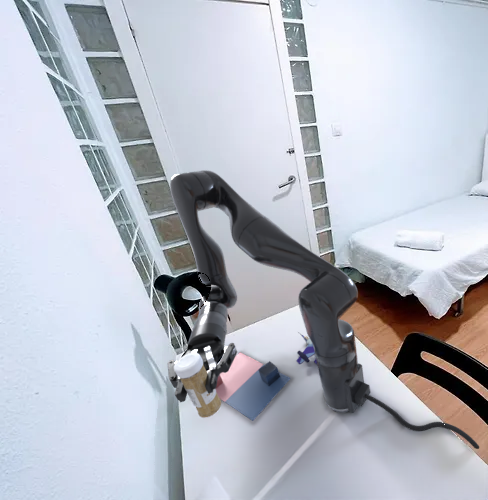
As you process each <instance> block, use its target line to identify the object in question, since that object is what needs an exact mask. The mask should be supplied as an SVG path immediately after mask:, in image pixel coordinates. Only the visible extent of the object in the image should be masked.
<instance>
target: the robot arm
mask: <svg viewBox="0 0 488 500" xmlns="http://www.w3.org/2000/svg"><path fill="white" fill-rule="evenodd" d="M169 188H170V194H171V197H172V201H173V204H174V206H175V208H176V212H177V215H178V217H179V219H180V222H181V225H182V228H183V229H184V232H185V235H186V236H187V239H188V241H189V244H190V247H191V249H192V252H193V256H194V260H195V266H196V270H197V273H198V272H201V274H199V275H198V278H199V277H200V279H201V281H202V282H201V281H200V282H201V283H202V284H203V285H204V284H205V285H210V287H211V291H210V294H209V293H208V294H209V297H208V299H207V300H206V296H203V297H202V298H201V300H200V302H199V307H198V315H197V318H196V321H195V323H194V324H193V327H192V330H191V333H190V336H189V339H188V342H187V347H186V352H185V354H183V356H185V355H187V354H190V353H198V354H199V355H200V356H201V358H202V360H203V365H204V367H205V369H206V370H207V369H209V370H210V371H208V370H207V371H208V374H207V379H206V384H205V387H206V390H207V392H208V394H209V393H212V392H213V389H215V388H216V386H217V380H218V377H219V375H220V374H221V373H222V372H223V373H226V372H228V371H229V369H230V367H231V365H232V362H233V360H234V358H235V356H236V355H237V354H238V350H237V347H236V345H235V343H234V342H231V343H229V344H228V345H225V343H226V336H227V332H228V330H227V329H228V328H227V323H228V317H229V310H228V309H232V308H233V307H235V306H236V304H237V301H238V293H237V291H236V288H235V286H234V285H233V283H232V280H230V277H229V274H228V272H227V268H226V267H227V266H226V260H225V256H224V252H223V250H222V248H221V245H219V243H218V242H217V241H216V240H215V239H214V238H213V237H212V236H211V235H209V233H208V232H207V231H206V230H205V229H204V227H203V226H202V224H201V222H200V218H199V212H200V211H205V210H209V209H212V208H214V209H215V208H216V209H218V210H220V211H222V212H223V213H224V214H225V215H226V216H227V218H228V219H229V229H230V234H231V238H232V240H233V242H234V244H235V245H236V247H238V248H239V250H241V251H242V252H243V253H245V254H246V255H247V256H248V257H249V258H250V259H252V260H253V261H254V262H256V263H258V264H261V265H263V266H267V267H269V268H274V269H278V270H283V271H286V272H287V271H288V272H291V273H294V274H297V275H299V276H301V277H302V278H304V279H305V280H307V281H308V282H309V283H307V284H306V285H305V286H303V287H302V288H301V289H300V291H299V293H298V299H297V300H298V301H297V302H298V308H299V311H300V314H301V318H302V321H303V324H304V329H305V331H306V334H307V337H308V338H310V340H311V342H312V344H313V347H314V352H315V354H314V356H315V359H316V361H317V364H316V365H317V370H318V374H319V379H320V383H321V389H322V392H323V399H324V403H325V404H326V406H327V407H328V408H329V409H330V410H332V411H333V412H335V413H337V414H341V413H342V414H344V413H348V412H349V413H351V414H354V413H355V411H356V409H357V408H358V407H361V408H362V407H363V406H364V404H365V403H366V401H369V402H371V403H373V404H374V405H377V406H379V407H380V408H382V409H383V410H385V411H386V412H387V413H388V414H390V415H392V416H393V417H394V418H395V419H396V420H397V421H398V422H399V423H400V424H401V425H402V426H403V427H405V428H407V429H408V430H410V431H414V432H424V431H429V430H432V429H434V428H442V429H447V430H449V431H452V432H454V433H456V434H457V435H459V436H461V437H462V438H463V439H464V440H466V441H467V442H468V443H469V444H470V445H471V446H472V447H473V448H474V449H476V450H479V449H480V446H479V444H478V443H477V442H476V440H474V439H473V438H472V437H471V436H470V435H469V434H468V433H467V432H465V431H464V430H462V429H461V428H460V427H457V426H455V425H453V424H450V423H447V422H443V421H433V422H428V423H427V424H423V425H416V424H415V425H414V424H412V423H409V422H407V421H406V420H405V419H404V418H403V417H402V416H401V415H400V414H398V412H397V411H395V410H394V409H393V408H392V407H390V406H388V405H387V404H385V403H384V402H383V401H381V400H379V399H378V398H376V397H374V396H372V395H370V394H371V387H370V384H367V383H366V382H365V377H364V369H363V368H364V367H363V364H361V363H360V362H359V360H358V352H357V343H356V335H355V330H354V328H353V326H352V325H351V323H349V322H348V321H346V320H344V319H341V318H342V317H343V316H344V315H345V314H346V313H347V312H348V311H349V310H350V309H351V308H352V307H353V306H354V304H355V303H356V302H357V300H358V299H359V291H358V288H357V286H356V284H355V282H354V281H353V279H351V277H350V276H348V274H347V273H345V272H344V271H343V270H341V269H340V268H338V267H337V266H335V265H334V264H332V263H331V262H329V261H327V260H326V259H324V258H322V257H321V256H319V255H317V254H316V253H314V252H313V251H311V250H310V249H308V248H307V247H306V246H304V245H303V244H302V243H300V242H299V241H297V240H296V239H295V238H294V237H292V236H291V235H290V234H288V233H287V232H286V231H284V229H282V228H281V227H280V226H278V225H277V224H276V223H275V222H274V221H272V220H271V219H270V218H269V217H267V216H266V215H264V214H262V212H260V211H259V210H258V209H256V208H255V207H254V206H252V204H251V203H249V202H248V201H247V200H245V199H244V198H243V196H241V195H240V194H239V193H238V192H237V191H236V190H235V189H234V188H233V187H231V185H230V184H229V183H228V182H227V181H226V180H225V179H224V178H222V176H221V175H219V174H218V173H216V172H214V171H212V170H208V169H207V170H206V169H205V170H196V171H188V172H180V173H177V174H174V175H173V176H172V177H171V179H170V182H169ZM202 273H204V274H202ZM205 274H206V275H207V276H208V277H209V279H210V281H209V279H208V277H207V276H206V275H205ZM200 279H199V280H200ZM205 301H206V302H205ZM203 304H204V305H203ZM202 305H203V306H202ZM201 306H202V307H201ZM200 308H201V309H200ZM219 360H220V361H219ZM177 361H178V360H176V361H175V360H174V359H171V360H169V361H167V373H168V374H167V375H168V380H169V382H170V383H171V386H172V388H174V389H175V391H174V396H175V398H176V399H177V401H179V403H183V402H186V400H187V395H188V393H187V391H186V390H185V388H184V385H183V383H182V381H181V379H180V378H179V377H178V376H177V375H176V373H175V370H174V365H175V363H176V362H177ZM218 361H219V363H218ZM442 422H443V423H442ZM444 424H445V425H444Z"/></svg>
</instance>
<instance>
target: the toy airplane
mask: <svg viewBox="0 0 488 500" xmlns="http://www.w3.org/2000/svg"><path fill="white" fill-rule="evenodd" d="M297 333H298V334H300V336H301V337H302V338H303V340H304V341H305V346H306V347H305V348H304V349H303V351H301V350H297V352H296V353H297V355H298V357H297V359H296V360H295V361H296V362H297V364H298V365H301V364H303V363H304V362H305V363H310V362H311V361H310V359H309V358H311V357H312V356H315V352H314V347H313V344H312V342H311V340H310V338H309V337H308V335H303V334H301V333H300V332H298V331H297ZM313 363H314V364H315V365H317V361H316V358H315V359H314V360H313Z"/></svg>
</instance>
